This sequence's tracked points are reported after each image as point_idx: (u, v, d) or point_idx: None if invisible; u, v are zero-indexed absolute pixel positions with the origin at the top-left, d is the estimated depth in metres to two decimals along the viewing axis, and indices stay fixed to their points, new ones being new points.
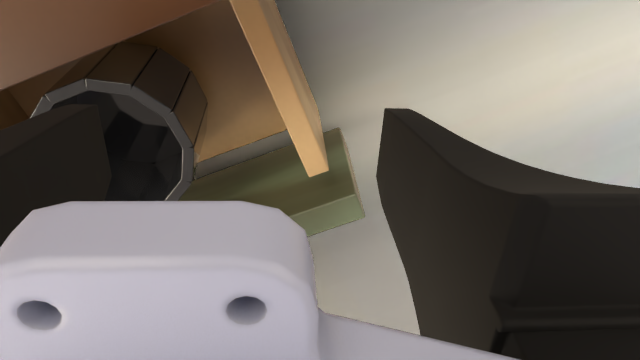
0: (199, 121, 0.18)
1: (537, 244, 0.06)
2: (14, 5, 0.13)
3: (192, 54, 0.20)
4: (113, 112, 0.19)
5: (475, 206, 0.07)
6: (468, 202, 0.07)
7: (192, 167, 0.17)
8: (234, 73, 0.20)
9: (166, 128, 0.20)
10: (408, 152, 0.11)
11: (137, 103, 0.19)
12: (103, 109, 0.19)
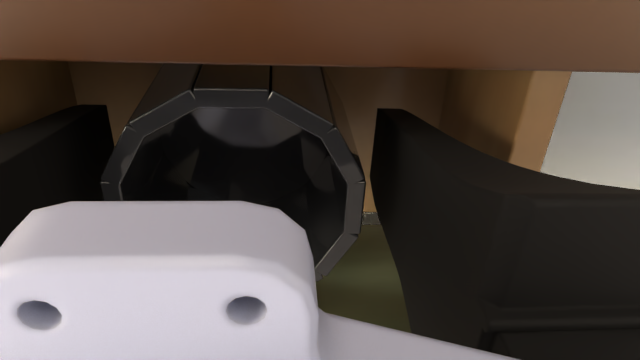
0: None
1: (523, 244, 0.06)
2: None
3: (344, 82, 0.14)
4: (212, 121, 0.13)
5: (463, 206, 0.07)
6: (456, 202, 0.07)
7: (339, 259, 0.11)
8: None
9: (271, 166, 0.14)
10: (399, 152, 0.11)
11: (252, 122, 0.13)
12: (201, 112, 0.13)
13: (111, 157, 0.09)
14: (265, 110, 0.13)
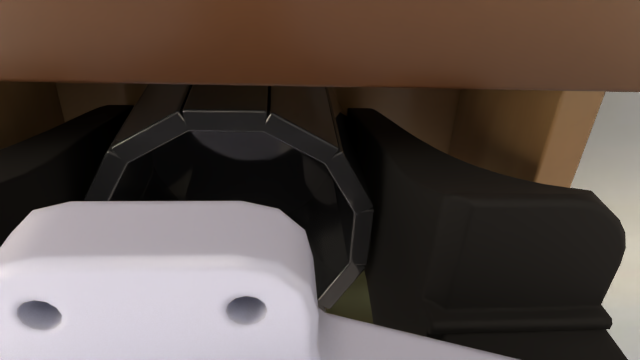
0: None
1: (463, 245, 0.06)
2: None
3: (350, 94, 0.13)
4: (207, 137, 0.12)
5: (413, 206, 0.07)
6: (408, 202, 0.07)
7: (344, 291, 0.10)
8: None
9: (271, 184, 0.13)
10: (365, 152, 0.10)
11: (250, 138, 0.12)
12: None
13: (92, 185, 0.08)
14: None
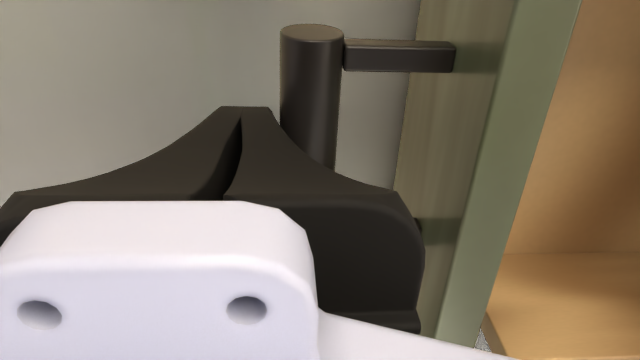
0: None
1: None
2: None
3: (609, 181, 0.16)
4: None
5: None
6: None
7: None
8: (560, 212, 0.17)
9: None
10: None
11: None
12: None
13: None
14: None
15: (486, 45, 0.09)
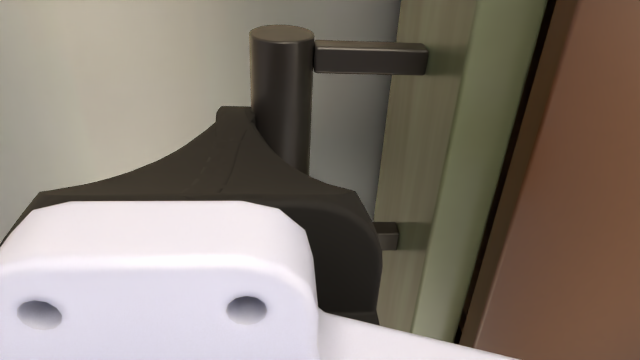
0: None
1: None
2: (595, 244, 0.10)
3: None
4: None
5: None
6: None
7: None
8: None
9: None
10: None
11: None
12: None
13: None
14: None
15: (452, 47, 0.09)
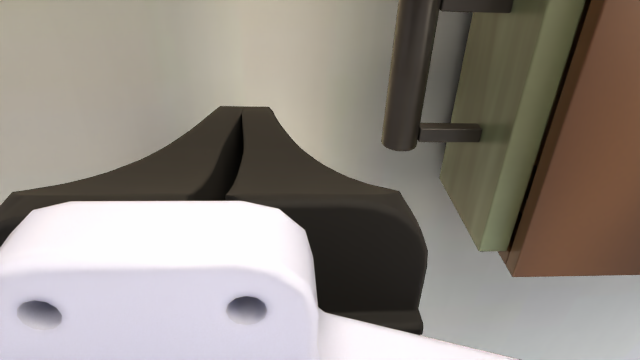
0: None
1: None
2: (622, 111, 0.16)
3: None
4: None
5: None
6: None
7: None
8: None
9: None
10: None
11: None
12: None
13: None
14: None
15: None
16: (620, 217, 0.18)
